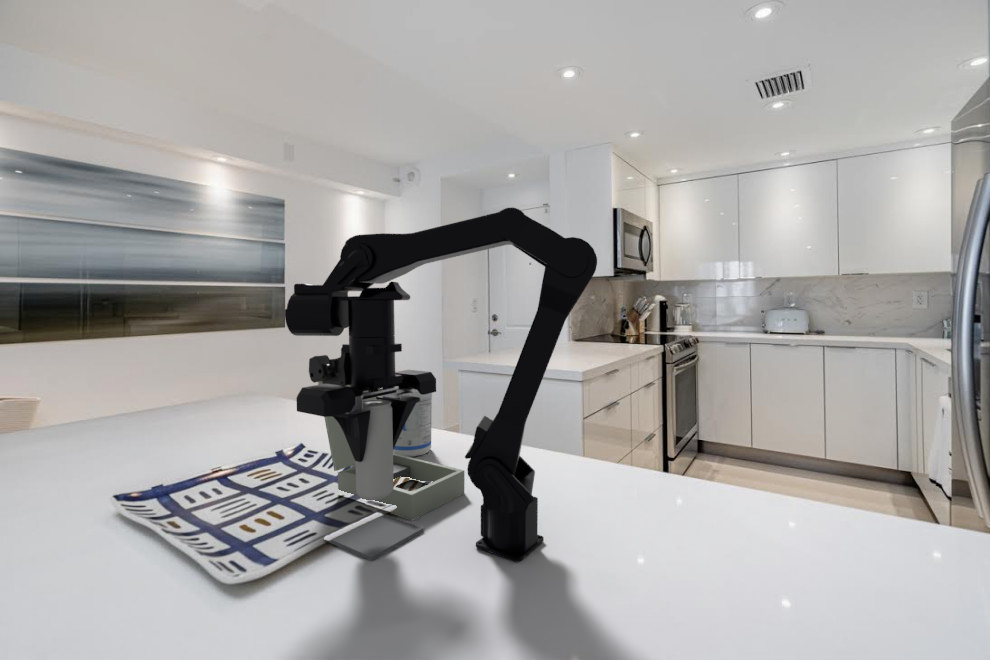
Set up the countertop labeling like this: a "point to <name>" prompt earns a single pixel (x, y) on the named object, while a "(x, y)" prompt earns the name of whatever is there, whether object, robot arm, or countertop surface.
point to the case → (423, 499)
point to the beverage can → (377, 453)
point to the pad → (377, 537)
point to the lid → (339, 442)
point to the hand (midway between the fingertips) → (374, 455)
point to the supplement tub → (416, 428)
